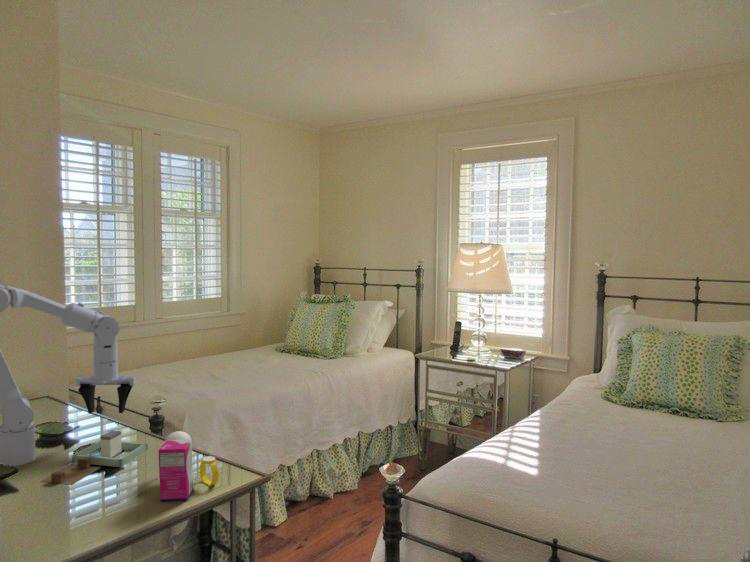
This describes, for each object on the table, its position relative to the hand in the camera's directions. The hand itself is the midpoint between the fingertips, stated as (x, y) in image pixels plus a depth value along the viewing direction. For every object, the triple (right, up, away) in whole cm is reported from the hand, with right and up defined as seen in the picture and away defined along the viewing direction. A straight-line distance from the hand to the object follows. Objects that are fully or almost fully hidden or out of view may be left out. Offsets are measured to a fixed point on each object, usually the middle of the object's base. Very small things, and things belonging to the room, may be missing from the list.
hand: (106, 412), depth 146 cm
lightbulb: (+25, -11, -18) cm, 33 cm away
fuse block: (+1, -11, -18) cm, 21 cm away
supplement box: (+28, -12, -26) cm, 40 cm away
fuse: (+5, -10, -7) cm, 13 cm away
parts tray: (+5, -10, -7) cm, 13 cm away
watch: (+33, -12, -20) cm, 40 cm away
